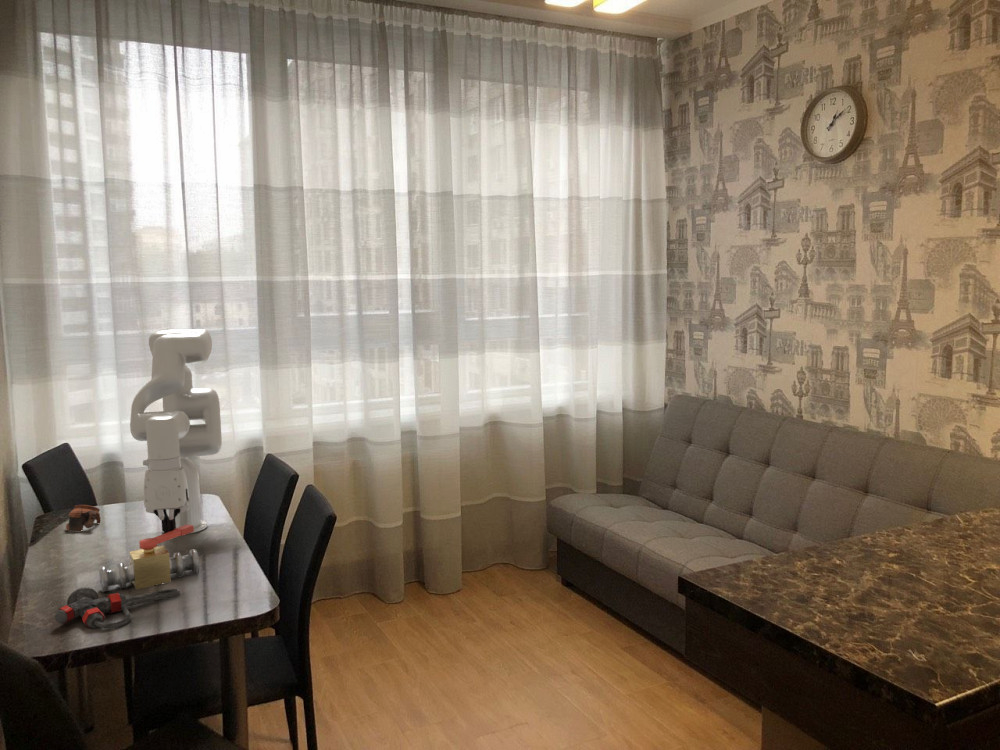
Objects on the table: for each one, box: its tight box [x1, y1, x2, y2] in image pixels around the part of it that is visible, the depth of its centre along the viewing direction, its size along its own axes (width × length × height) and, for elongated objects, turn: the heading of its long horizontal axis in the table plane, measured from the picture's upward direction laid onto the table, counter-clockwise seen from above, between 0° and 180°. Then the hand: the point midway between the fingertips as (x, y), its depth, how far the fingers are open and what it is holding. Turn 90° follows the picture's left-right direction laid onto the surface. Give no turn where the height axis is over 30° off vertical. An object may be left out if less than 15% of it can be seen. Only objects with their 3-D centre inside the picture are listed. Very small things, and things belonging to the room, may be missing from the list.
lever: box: [138, 524, 194, 550], centre depth 201 cm, size 16×4×2 cm, turn 156°
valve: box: [54, 586, 181, 629], centre depth 177 cm, size 6×26×15 cm
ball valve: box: [98, 545, 201, 593], centre depth 196 cm, size 7×22×9 cm, turn 123°
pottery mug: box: [65, 504, 101, 532], centre depth 243 cm, size 12×10×8 cm
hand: (169, 533), depth 205 cm, fingers closed
